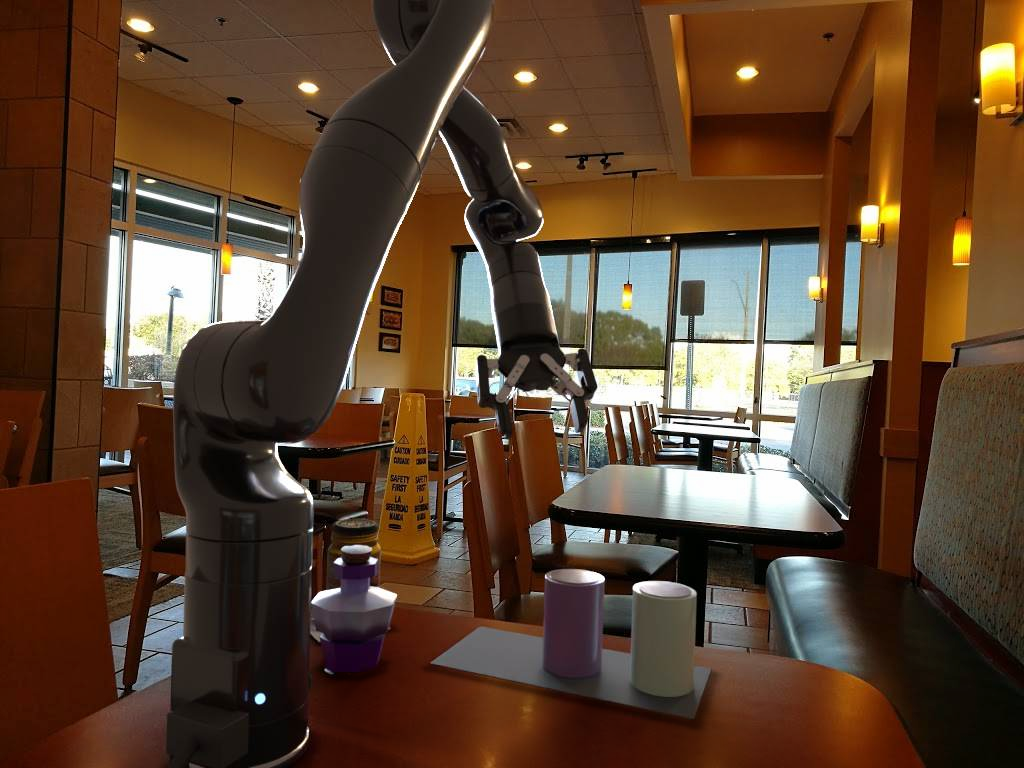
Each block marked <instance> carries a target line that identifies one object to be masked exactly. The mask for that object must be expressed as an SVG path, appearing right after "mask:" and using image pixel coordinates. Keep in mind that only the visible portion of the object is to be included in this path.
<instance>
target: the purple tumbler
mask: <svg viewBox="0 0 1024 768" xmlns="http://www.w3.org/2000/svg"><path fill="white" fill-rule="evenodd" d="M605 585H606V579H605V576H603V575H602V574H600V573H597V572H594V571H590V570H586V569H579V568H578V569H577V568H562V569H554V570H550V571H548V572H546V573H545V575H544V591H543V592H544V595H543V624H542V628H543V629H542V638H543V650H542V666H543V668H544V669H545V670H546V671H548V672H550V673H552V674H554V675H558V676H562V677H568V678H585V677H590V676H594V675H596V674H598V673H599V672H600V671H601V669H602V649H603V643H604V638H603V637H604V617H605V616H604V613H605V589H606V586H605Z"/></svg>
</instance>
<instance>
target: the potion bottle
mask: <svg viewBox="0 0 1024 768" xmlns="http://www.w3.org/2000/svg"><path fill="white" fill-rule="evenodd" d="M371 553H372V548H371V547H368V546H363V545H353V546H344V547H342V549H341V558H337V559H336V561H335V562H334V566H333V575H334V576H336V577H339V578H341V587H340V588H337V589H332V590H328V591H327V590H323V591H318V593H317V594H316V596H315V597H314V598H313V599H311V613H312V618H314V622H315V627H316V632H318V631H319V632H322V635H321V636H320V646H321V650H322V656H323V661H324V665H325V668H324V672H325V673H328V674H329V675H330V676H332V675H333V674H335V673H337V672H339V673H361V672H364V671H367V670H369V669H373V668H376V667H377V666H378V664H379V661H380V659H381V654H382V650H383V647H384V642H385V638H386V635H387V633H388V631H389V630H390V629H389V627H390V628H391V622H392V618H393V614H394V610H395V606H396V602H397V598H398V594H397V593H395V592H392V591H390V590H387V589H385V588H381V587H380V588H379V587H372V586H370V577H374V576H375V575H376V573H377V572H378V559H375V558H372V557H370V556H371ZM388 629H389V630H388Z"/></svg>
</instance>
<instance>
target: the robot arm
mask: <svg viewBox="0 0 1024 768" xmlns="http://www.w3.org/2000/svg"><path fill="white" fill-rule="evenodd" d="M370 2H371V13H372V19H373V22H374V27H375V30H376V32H377V35H378V37H379V40H380V42H381V44H382V46H383V48H384V50H385V52H386V53H387V55H388V57H389V58H390V60H391V62H392V64H393V66H391V67H390V68H389V69H387V70H386V71H384V72H382V73H381V74H380V75H378V76H376V77H375V78H374V79H372V80H371V81H370V82H368V83H367V84H366V85H364V86H363V87H361V88H360V89H359V90H357V91H356V92H355V93H353V95H351V96H350V97H349V98H347V100H345V101H344V102H342V104H341V105H340V106H339V107H338V108H336V110H335V111H334V112H333V114H332V115H331V117H330V118H329V119H328V121H327V122H326V124H325V126H324V127H323V129H322V132H321V134H320V135H319V138H318V139H317V141H316V143H315V145H314V147H313V149H312V150H311V153H310V155H309V156H308V158H307V160H306V163H305V164H304V168H303V170H302V173H301V176H300V181H299V187H298V188H299V189H298V203H299V204H298V205H299V215H300V222H301V230H302V237H303V245H302V253H301V258H300V261H299V263H298V266H297V268H296V270H295V272H294V275H293V276H292V279H291V281H290V282H289V285H288V288H287V289H286V291H285V293H284V295H283V297H282V299H281V300H280V302H279V304H278V305H277V307H276V308H275V310H274V311H273V313H272V314H271V315H270V317H268V318H267V319H266V320H228V321H219V322H214V323H211V324H208V325H205V326H203V327H202V328H200V329H199V330H197V331H196V332H194V334H193V335H192V336H191V337H189V339H188V340H187V342H186V343H185V345H184V346H183V348H182V349H181V352H180V355H179V357H178V358H179V359H178V361H177V364H176V368H175V374H174V381H173V394H172V395H173V396H172V397H173V398H172V417H173V419H172V420H173V421H172V422H173V423H172V424H173V452H174V454H173V455H174V456H173V457H174V480H175V487H176V492H177V494H178V497H179V499H180V501H181V503H182V506H183V509H184V512H185V555H184V556H185V558H184V559H185V561H184V589H183V590H184V591H183V593H184V594H183V629H182V630H183V631H182V632H183V633H182V637H179V638H176V639H174V641H173V642H172V644H171V666H170V667H171V670H170V671H171V672H170V673H171V674H170V707H169V708H170V710H169V712H168V713H166V741H165V742H166V743H165V746H166V747H165V751H166V752H165V753H166V754H167V755H168V765H167V766H166V768H288V767H291V766H292V765H293V764H295V763H296V762H297V761H298V760H300V759H301V757H303V755H304V754H305V753H306V751H307V749H308V747H309V739H310V738H309V737H310V736H309V735H310V729H309V723H308V722H309V697H310V696H309V695H310V694H309V693H310V692H309V691H311V692H312V691H313V675H312V674H311V673H310V655H311V654H310V652H311V634H310V623H311V618H312V607H311V601H312V588H313V587H312V585H313V584H312V582H313V579H312V578H313V559H314V558H313V555H314V553H313V552H314V551H313V550H314V520H315V519H314V518H315V516H314V515H315V514H314V513H315V512H314V511H315V504H314V503H315V502H314V497H313V495H312V493H311V492H310V490H309V489H308V488H307V487H306V486H305V485H303V483H301V482H299V481H298V480H296V478H295V477H293V476H292V475H291V474H290V473H289V472H288V470H287V469H286V468H285V466H284V465H283V463H282V461H281V458H280V456H279V452H278V445H291V444H292V445H293V444H297V443H298V444H299V443H301V442H305V441H306V440H307V439H310V438H311V437H313V436H314V435H315V434H316V433H317V432H319V431H320V430H321V429H322V427H323V426H324V425H325V423H326V422H327V421H328V419H329V418H330V416H331V414H332V413H333V411H334V409H335V408H336V405H337V402H338V400H339V398H340V395H341V392H342V390H343V388H344V387H343V386H344V384H345V381H346V378H347V374H348V371H349V368H350V366H351V361H352V359H353V354H354V352H355V349H356V344H357V341H358V338H359V335H360V332H361V328H362V326H363V322H364V319H365V315H366V312H367V308H368V306H369V303H370V300H371V297H372V294H373V292H374V290H375V287H376V284H377V282H378V279H379V276H380V274H381V272H382V269H383V266H384V264H385V261H386V258H387V256H388V253H389V250H390V248H391V246H392V243H393V241H394V238H395V236H396V234H397V232H398V230H399V227H400V225H401V224H402V221H403V220H404V217H405V215H406V214H407V211H408V209H409V208H410V207H409V206H410V204H411V202H412V200H413V197H414V195H415V193H416V191H417V188H418V185H419V184H420V181H421V178H422V176H423V174H424V170H425V168H426V165H427V163H428V160H429V157H430V155H431V152H432V150H433V148H434V146H435V143H436V141H437V139H438V137H439V135H440V137H441V138H442V141H443V143H444V144H445V146H446V148H447V150H448V153H449V156H450V158H451V160H452V163H453V164H454V168H455V170H456V172H457V174H458V176H459V179H460V181H461V184H462V186H463V189H464V191H465V192H466V194H467V195H468V197H470V198H471V199H472V200H471V201H470V202H469V203H468V205H467V207H466V209H465V213H464V222H465V225H466V230H467V232H468V233H469V235H470V237H471V239H472V241H473V242H474V244H475V246H476V248H477V249H478V252H479V253H480V255H481V257H482V260H483V262H484V265H485V268H486V272H487V273H486V274H487V279H488V285H489V290H490V308H491V319H492V322H493V325H494V326H493V327H494V332H495V336H496V337H495V338H496V344H497V349H498V355H499V356H498V358H487V356H486V355H484V354H479V355H477V357H476V362H475V371H474V372H475V381H476V382H475V383H476V394H477V395H476V396H477V405H478V407H479V408H480V409H486V408H488V409H492V410H493V411H494V414H495V420H496V427H497V431H498V433H499V435H500V436H501V435H502V436H504V437H503V438H504V439H505V440H510V439H512V438H513V435H514V434H513V433H514V429H513V423H512V416H511V411H510V406H509V401H511V399H512V398H513V396H514V395H515V393H516V391H517V390H520V391H522V393H529V392H532V391H541V392H543V391H548V390H549V389H551V390H553V392H555V394H557V395H558V396H562V397H563V398H564V399H565V400H566V401H568V403H570V405H569V409H570V413H571V414H570V415H571V419H572V424H573V427H574V428H573V429H574V432H575V433H576V434H581V433H583V431H584V430H585V428H586V426H587V425H588V422H589V415H588V410H587V405H586V401H590V400H591V401H592V399H593V398H594V396H595V393H596V391H597V389H598V382H597V380H596V376H595V373H594V370H593V366H592V363H591V361H590V360H591V359H590V357H589V354H588V351H587V350H586V348H583V347H581V348H578V350H577V352H572V353H571V352H570V353H565V352H563V350H562V349H561V346H560V341H559V337H558V332H557V329H556V324H555V318H554V313H553V309H552V305H551V300H550V295H549V293H548V290H547V288H546V287H547V286H545V285H546V284H545V281H544V277H543V272H542V268H541V267H542V266H541V262H540V259H539V254H538V252H537V249H535V247H534V246H533V245H532V244H531V243H528V242H526V241H522V240H525V239H529V238H532V237H534V236H536V235H537V234H538V233H539V231H541V228H542V227H543V224H544V211H543V207H542V204H541V201H540V199H539V198H538V195H536V193H535V191H534V190H533V189H532V188H531V187H530V185H529V184H528V182H527V181H526V180H524V178H523V177H522V175H521V174H520V172H519V171H518V170H517V168H516V165H515V162H514V160H513V156H512V153H511V150H510V146H509V144H508V141H507V138H506V135H505V133H504V130H503V129H502V127H501V125H500V124H499V122H498V121H497V119H496V118H495V116H494V115H493V114H492V113H491V112H490V111H489V110H488V108H486V107H485V106H484V105H483V104H482V103H481V102H480V101H479V100H478V99H477V97H475V96H474V95H473V94H472V93H471V92H470V91H469V90H468V89H467V88H466V87H465V85H466V83H467V82H468V81H469V78H471V75H472V73H473V72H474V70H475V68H476V67H477V65H478V63H479V61H480V60H481V58H482V56H483V54H484V51H485V50H486V47H487V44H488V42H489V39H490V36H491V33H492V28H493V24H494V18H495V7H496V6H495V5H496V4H495V2H496V1H495V0H371V1H370ZM565 365H568V366H569V367H570V369H571V370H572V371H573V372H576V376H577V379H578V381H579V384H578V383H577V382H575V380H573V377H572V376H571V375H570V373H568V372H567V371H566V370H565V369H564V367H565ZM495 370H498V372H499V373H500V374H501V375H502V376H503V377H504V378H505V380H504V382H503V385H502V386H501V388H500V389H499V391H498V392H497V393H492V392H491V388H490V378H491V377H492V376H493V375H494V372H495Z"/></svg>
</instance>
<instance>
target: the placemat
mask: <svg viewBox="0 0 1024 768" xmlns="http://www.w3.org/2000/svg"><path fill="white" fill-rule="evenodd" d="M542 650H543V636H542V637H541V636H535V635H531V634H525V633H519V632H513V631H508V630H504V629H503V630H502V629H498V628H492V627H486V626H481V625H480V626H479V627H477V628H476V629H475V630H473V631H472V632H470V633H469V634H468V635H466V636H465V637H464V638H463V639H461V640H460V641H458V642H457V643H455V644H454V645H453V646H451V647H450V648H449V649H447V650H446V651H444V652H443V653H442V654H440V655H439V656H438V657H437V658H435V659H434V660H432V661H430V662H429V664H430V665H434V666H439V667H443V668H449V669H453V670H456V671H463V672H466V673H471V674H472V673H473V674H478V675H481V676H486V677H492V678H496V679H499V680H505V681H510V682H514V683H519V684H524V685H529V686H533V687H538V688H543V689H548V690H552V691H557V692H562V693H566V694H571V695H576V696H581V697H585V698H590V699H595V700H600V701H605V702H610V703H615V704H618V705H623V706H629V707H632V708H637V709H641V710H647V711H651V712H656V713H661V714H666V715H671V716H674V717H675V716H676V717H681V718H686V719H689V720H695V717H696V714H697V712H698V709H699V706H700V704H701V700H702V697H703V696H704V692H705V689H706V687H707V685H708V681H709V679H710V676H711V673H712V670H713V669H712V668H711V667H706V666H699V665H695V664H694V682H693V690H692V691H691V692H690V693H688V694H686V695H683V696H678V697H662V696H655V695H651V694H647V693H644V692H642V691H640V690H638V689H636V688H635V687H634V686H632V684H631V683H630V653H629V652H625V651H618V650H612V649H608V648H607V649H606V648H602V669H601V671H600V672H599V673H598V674H596V675H594V676H590V677H585V678H568V677H562V676H558V675H554V674H552V673H550V672H548V671H546V670H545V669H544V668H543V666H542Z"/></svg>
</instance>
